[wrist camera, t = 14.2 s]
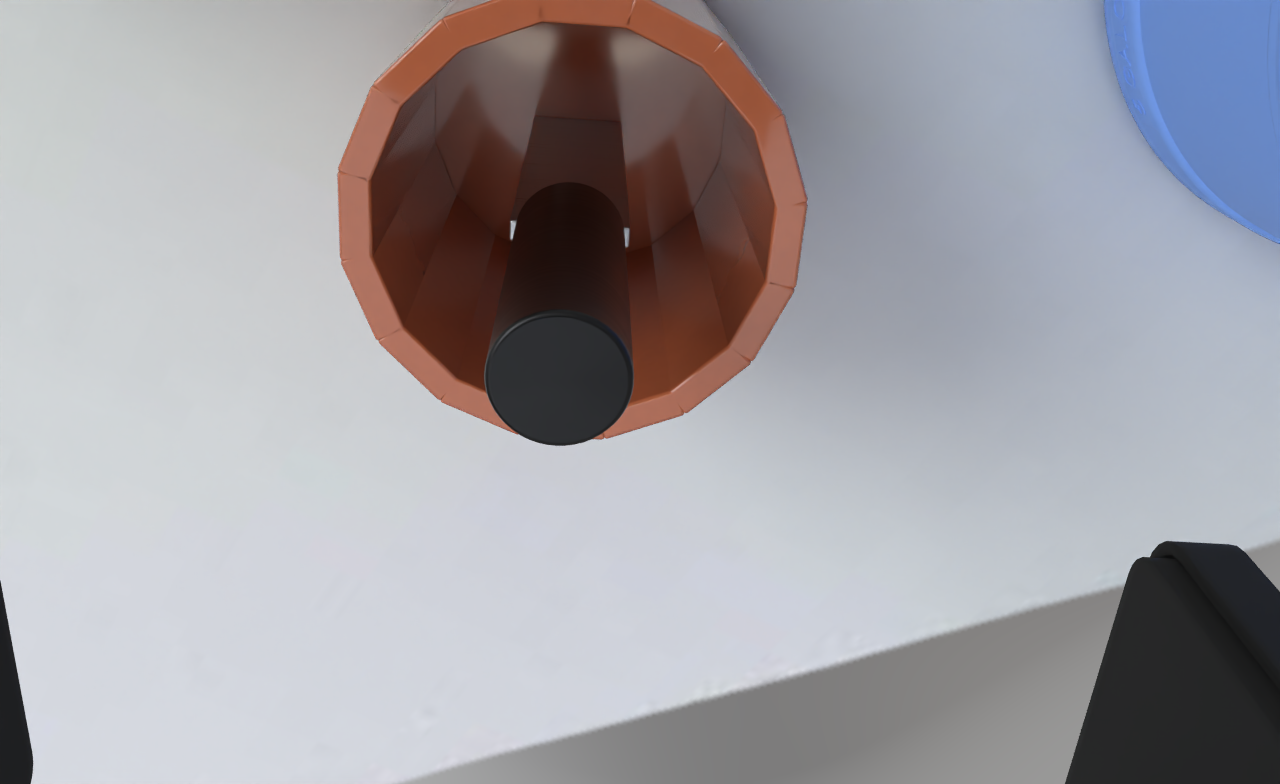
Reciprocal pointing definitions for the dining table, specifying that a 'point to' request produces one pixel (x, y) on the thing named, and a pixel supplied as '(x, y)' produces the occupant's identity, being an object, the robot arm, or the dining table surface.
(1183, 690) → the robot arm
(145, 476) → the dining table surface
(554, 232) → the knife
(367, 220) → the cup
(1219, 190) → the water jug
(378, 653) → the dining table surface
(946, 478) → the dining table surface
